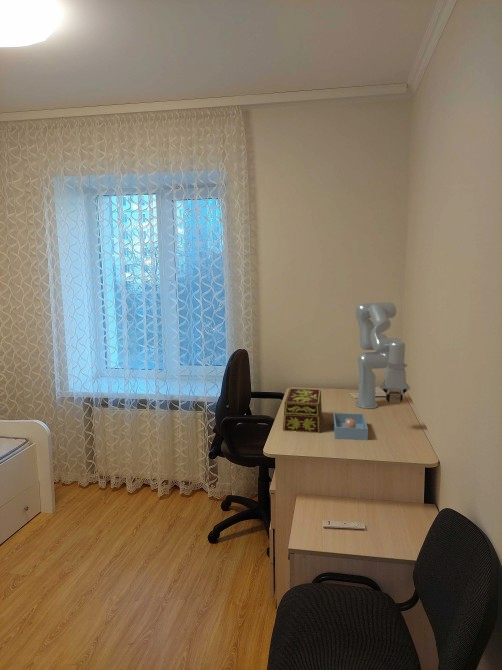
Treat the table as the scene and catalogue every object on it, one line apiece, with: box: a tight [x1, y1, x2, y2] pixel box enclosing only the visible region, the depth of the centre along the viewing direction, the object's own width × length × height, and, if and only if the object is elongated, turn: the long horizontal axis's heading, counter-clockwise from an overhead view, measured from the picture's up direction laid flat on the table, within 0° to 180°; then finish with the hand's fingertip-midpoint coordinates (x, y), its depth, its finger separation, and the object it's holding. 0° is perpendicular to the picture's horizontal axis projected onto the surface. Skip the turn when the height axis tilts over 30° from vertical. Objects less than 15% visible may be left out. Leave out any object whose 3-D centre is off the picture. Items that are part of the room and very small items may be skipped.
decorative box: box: [282, 388, 323, 434], centre depth 239 cm, size 28×19×15 cm
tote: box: [332, 412, 369, 441], centre depth 227 cm, size 21×15×6 cm
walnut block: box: [388, 390, 401, 405], centre depth 227 cm, size 5×5×5 cm
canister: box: [345, 418, 356, 428], centre depth 222 cm, size 5×5×7 cm
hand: (394, 401), depth 227 cm, fingers closed on walnut block, 5 cm apart
